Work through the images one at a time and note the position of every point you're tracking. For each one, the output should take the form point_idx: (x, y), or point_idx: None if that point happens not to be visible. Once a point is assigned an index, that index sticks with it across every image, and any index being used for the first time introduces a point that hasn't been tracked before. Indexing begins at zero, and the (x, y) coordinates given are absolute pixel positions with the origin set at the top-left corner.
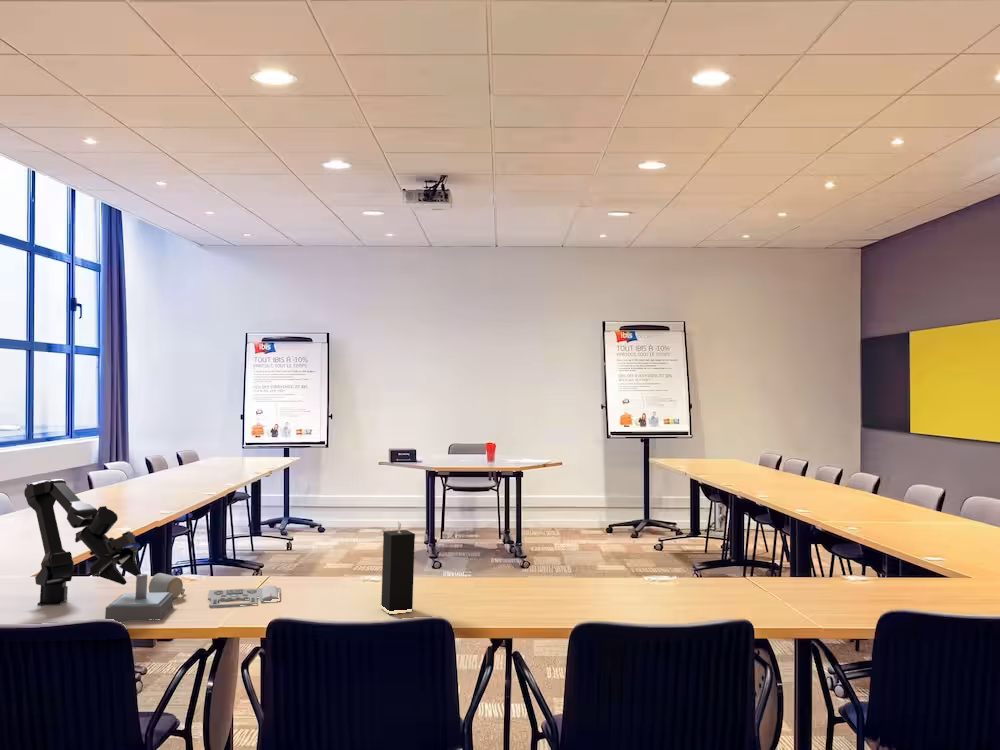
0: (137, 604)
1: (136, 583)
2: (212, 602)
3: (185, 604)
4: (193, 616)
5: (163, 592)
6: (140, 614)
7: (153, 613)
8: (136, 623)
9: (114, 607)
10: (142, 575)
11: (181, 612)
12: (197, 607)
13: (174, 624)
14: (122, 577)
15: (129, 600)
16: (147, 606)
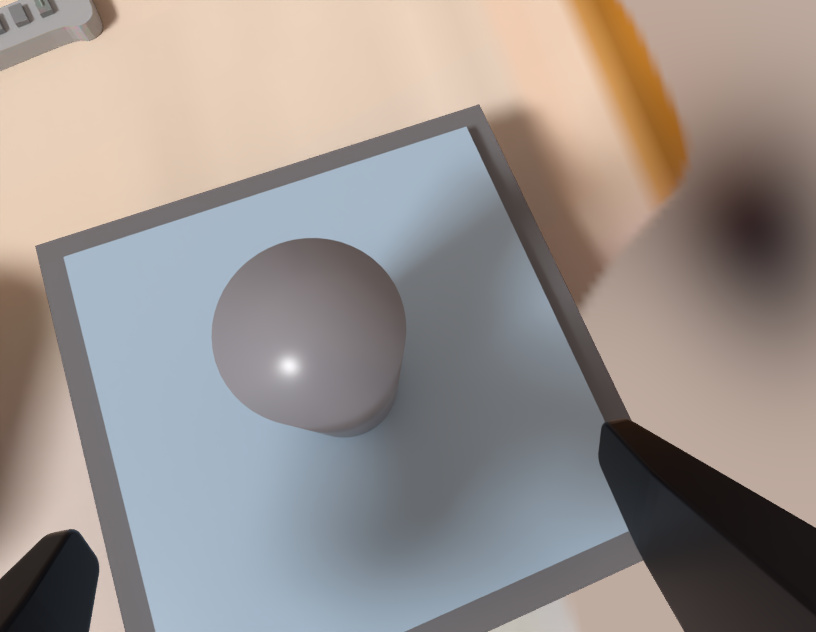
0: (536, 282)
1: (391, 394)
2: (14, 33)
3: (35, 226)
4: (325, 24)
5: (78, 306)
6: None
7: None
8: (579, 264)
9: None
10: (326, 305)
11: (254, 138)
12: (107, 106)
13: (514, 38)
14: (710, 480)
15: (457, 437)
16: (517, 196)
